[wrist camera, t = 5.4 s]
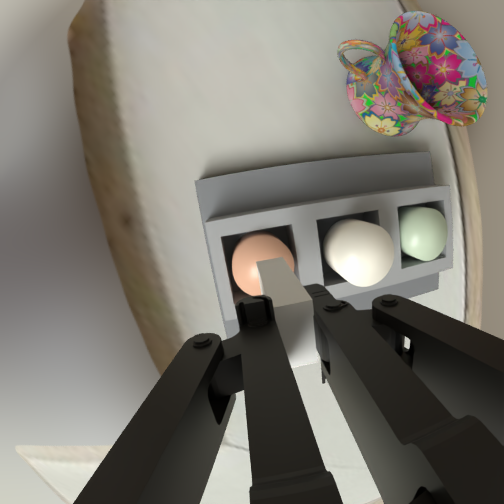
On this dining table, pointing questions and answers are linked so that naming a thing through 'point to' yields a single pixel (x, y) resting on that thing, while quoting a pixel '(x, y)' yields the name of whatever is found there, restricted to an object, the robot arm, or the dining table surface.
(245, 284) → the brown egg
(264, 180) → the panel
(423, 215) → the pale green rounded piece
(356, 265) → the white egg
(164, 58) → the dining table surface
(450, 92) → the mug
